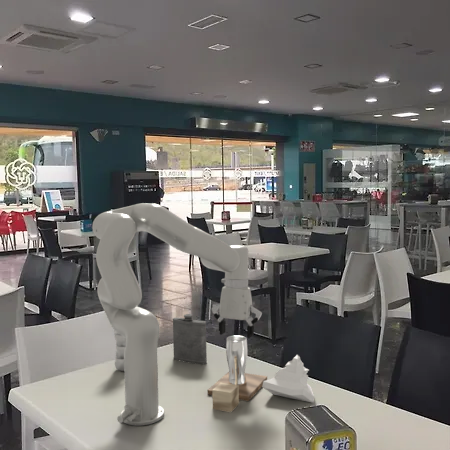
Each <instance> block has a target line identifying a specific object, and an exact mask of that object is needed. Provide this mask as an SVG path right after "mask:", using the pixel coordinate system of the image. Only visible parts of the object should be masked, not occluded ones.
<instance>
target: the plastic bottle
mask: <svg viewBox="0 0 450 450" xmlns="http://www.w3.org/2000/svg"><path fill="white" fill-rule="evenodd" d="M113 334H114V339H115V349H116V350H115V359H114V367H115V369H116V370H117V371H120V372H124V351H125V347H126V338H125V337H124V336H122V335H120V334H118V333H117V332H116V331H115V330H114V329H113Z"/></svg>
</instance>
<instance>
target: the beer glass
mask: <svg viewBox="0 0 450 450" xmlns="http://www.w3.org/2000/svg"><path fill="white" fill-rule="evenodd" d="M247 339H248V338H247V336H246V337H245V336H243V335H229V336H228V337H226V345H225V347H226V348H225V349H226V350H225V351H226V354H225V355H226V361H227V366H228V372H229V379H228V384H233V385H239V386H243V385H245V384H246V383H247V381H246V376H245V373H246V366H247V361H248V340H247Z"/></svg>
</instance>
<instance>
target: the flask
mask: <svg viewBox="0 0 450 450" xmlns="http://www.w3.org/2000/svg"><path fill="white" fill-rule="evenodd" d="M172 340H173V346H172V347H173V359H174V360H175V359H176V361H179V360H180V361H179V362H183V361H184V363H188V362H189V363H191V364H195V363H196V364H197V365H206V364H207V363H208V362H207V361H208V359H207V321H205V320H196V319H193V314H191V313H186V314H184V315H183V317H172Z"/></svg>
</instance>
